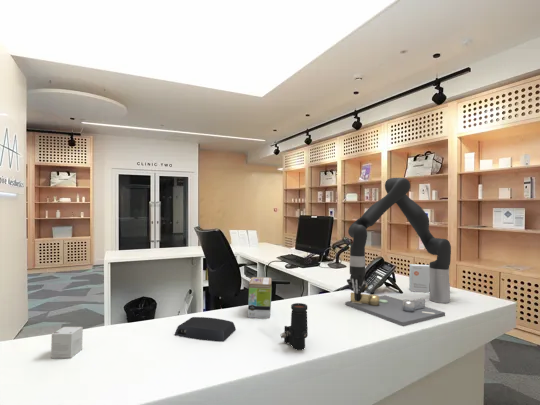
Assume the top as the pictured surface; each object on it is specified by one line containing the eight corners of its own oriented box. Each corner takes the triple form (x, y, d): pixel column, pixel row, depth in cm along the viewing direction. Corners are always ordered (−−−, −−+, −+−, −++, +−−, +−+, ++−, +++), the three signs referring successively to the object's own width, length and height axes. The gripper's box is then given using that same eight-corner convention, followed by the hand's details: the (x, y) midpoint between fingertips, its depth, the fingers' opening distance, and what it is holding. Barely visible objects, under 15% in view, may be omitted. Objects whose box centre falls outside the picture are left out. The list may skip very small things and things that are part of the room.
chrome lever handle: (410, 312, 135) (410, 303, 135) (400, 309, 139) (400, 300, 139) (428, 308, 141) (428, 299, 141) (418, 305, 145) (418, 297, 146)
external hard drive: (191, 325, 121) (192, 314, 121) (236, 330, 116) (237, 319, 116) (173, 337, 109) (173, 325, 109) (222, 344, 103) (222, 332, 104)
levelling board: (385, 298, 165) (385, 293, 165) (445, 315, 136) (445, 310, 136) (345, 304, 151) (345, 300, 151) (403, 326, 122) (402, 320, 122)
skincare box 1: (82, 349, 97) (83, 326, 97) (70, 358, 90) (71, 333, 91) (63, 349, 96) (64, 326, 97) (49, 358, 90) (51, 333, 91)
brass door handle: (380, 303, 148) (380, 295, 148) (378, 306, 143) (378, 297, 144) (352, 299, 154) (352, 291, 154) (349, 301, 150) (349, 293, 150)
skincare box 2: (411, 292, 180) (411, 265, 181) (408, 289, 185) (408, 263, 186) (449, 294, 177) (449, 266, 177) (446, 291, 182) (445, 265, 183)
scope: (299, 299, 109) (316, 306, 100) (299, 338, 108) (316, 349, 99) (280, 302, 105) (295, 310, 96) (279, 342, 104) (295, 354, 95)
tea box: (270, 318, 129) (271, 283, 130) (247, 318, 129) (248, 283, 130) (271, 308, 144) (271, 276, 145) (250, 307, 144) (250, 276, 145)
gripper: (373, 266, 145) (373, 303, 144) (353, 262, 156) (353, 296, 156) (362, 267, 141) (362, 305, 140) (342, 263, 153) (342, 298, 152)
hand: (357, 300), depth 148 cm, fingers closed
